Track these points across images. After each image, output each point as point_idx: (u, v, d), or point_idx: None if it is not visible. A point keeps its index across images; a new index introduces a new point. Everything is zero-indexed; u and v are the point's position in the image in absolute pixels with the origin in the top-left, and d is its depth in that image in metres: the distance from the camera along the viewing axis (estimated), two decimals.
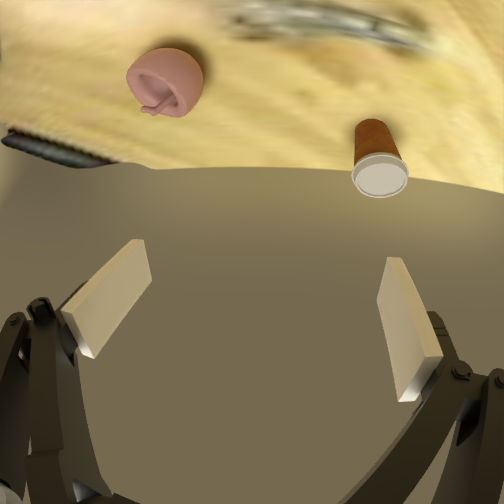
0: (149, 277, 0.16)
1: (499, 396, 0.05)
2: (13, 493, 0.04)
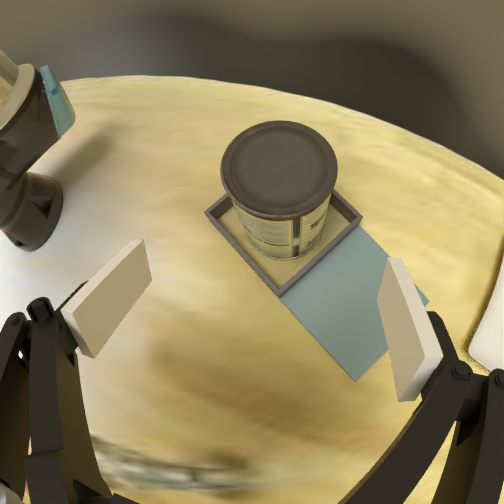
0: (149, 277, 0.16)
1: (499, 396, 0.05)
2: (13, 493, 0.04)
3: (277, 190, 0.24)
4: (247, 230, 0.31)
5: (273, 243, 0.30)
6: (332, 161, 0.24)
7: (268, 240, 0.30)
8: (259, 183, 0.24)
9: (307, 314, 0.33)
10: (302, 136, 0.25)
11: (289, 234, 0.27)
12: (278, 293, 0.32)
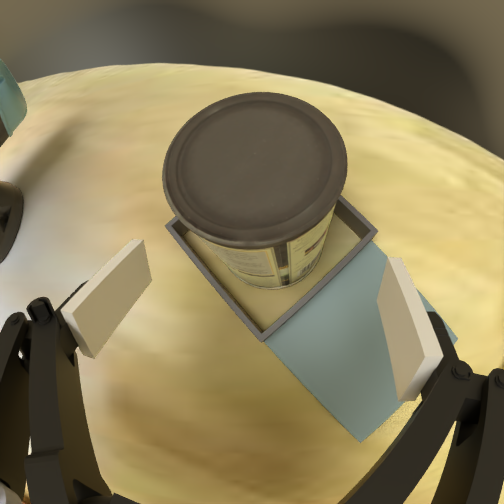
0: (149, 277, 0.16)
1: (499, 396, 0.05)
2: (13, 493, 0.04)
3: (247, 199, 0.14)
4: None
5: (251, 274, 0.21)
6: (338, 150, 0.14)
7: (243, 270, 0.20)
8: (219, 187, 0.15)
9: (301, 363, 0.24)
10: (290, 114, 0.16)
11: (272, 264, 0.18)
12: (260, 339, 0.23)
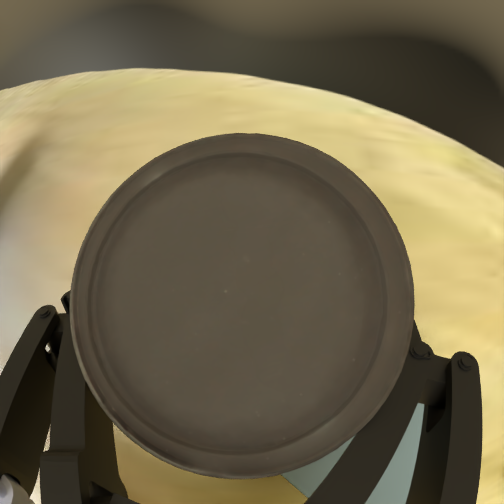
0: None
1: (464, 379, 0.06)
2: (22, 490, 0.04)
3: (211, 397, 0.07)
4: None
5: None
6: (401, 288, 0.07)
7: None
8: (158, 362, 0.07)
9: (299, 471, 0.16)
10: (304, 188, 0.08)
11: None
12: None
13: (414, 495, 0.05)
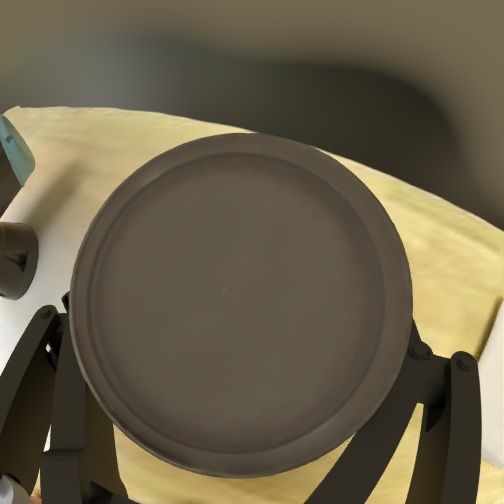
0: None
1: (464, 379, 0.06)
2: (22, 489, 0.04)
3: (209, 396, 0.07)
4: None
5: None
6: (399, 287, 0.07)
7: None
8: (157, 361, 0.07)
9: None
10: (302, 188, 0.08)
11: None
12: None
13: (413, 495, 0.05)
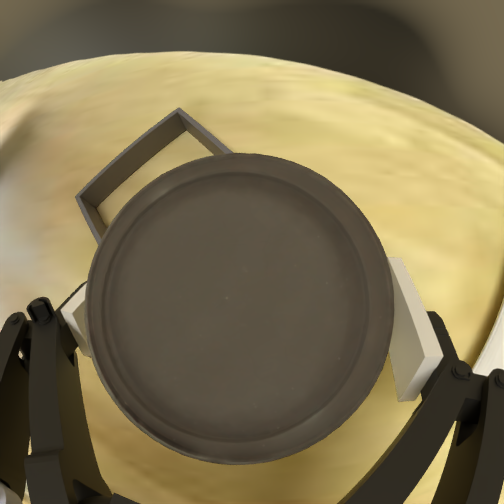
0: None
1: (499, 396, 0.05)
2: (13, 493, 0.04)
3: (214, 390, 0.08)
4: None
5: None
6: (382, 295, 0.08)
7: None
8: (167, 360, 0.08)
9: None
10: (297, 205, 0.09)
11: None
12: None
13: None
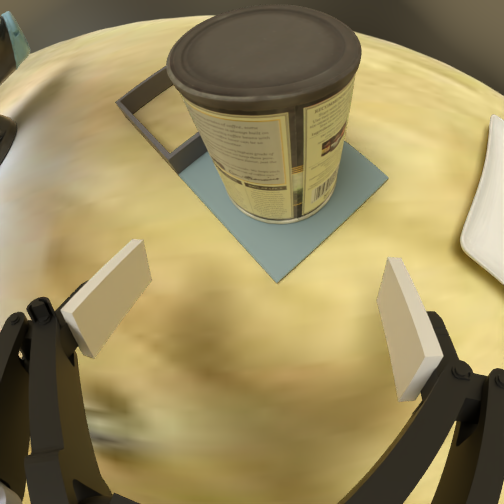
0: (149, 277, 0.16)
1: (499, 396, 0.05)
2: (13, 493, 0.04)
3: (258, 67, 0.11)
4: (219, 169, 0.19)
5: (260, 185, 0.18)
6: (350, 37, 0.11)
7: (251, 178, 0.17)
8: (227, 62, 0.12)
9: (210, 189, 0.26)
10: (299, 16, 0.12)
11: (286, 157, 0.15)
12: (168, 157, 0.24)
13: None
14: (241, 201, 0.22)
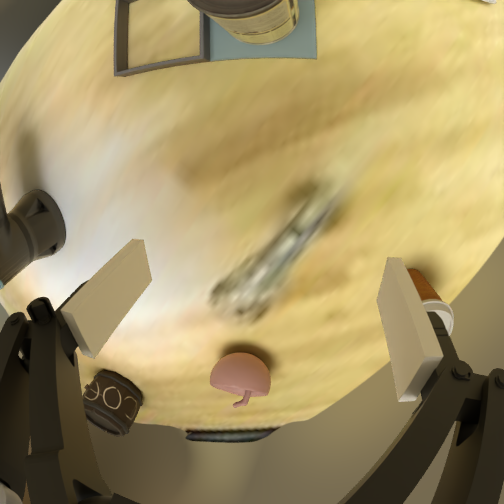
0: (149, 277, 0.16)
1: (499, 396, 0.05)
2: (13, 493, 0.04)
3: None
4: (251, 34, 0.25)
5: (279, 25, 0.23)
6: None
7: (275, 25, 0.23)
8: None
9: (237, 50, 0.31)
10: None
11: (288, 7, 0.20)
12: (202, 57, 0.30)
13: None
14: (266, 39, 0.27)
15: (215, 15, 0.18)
